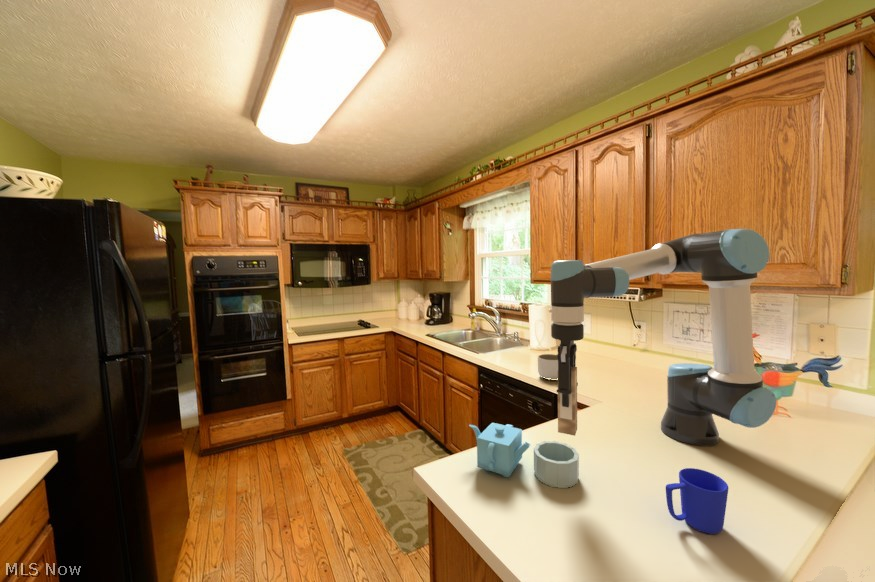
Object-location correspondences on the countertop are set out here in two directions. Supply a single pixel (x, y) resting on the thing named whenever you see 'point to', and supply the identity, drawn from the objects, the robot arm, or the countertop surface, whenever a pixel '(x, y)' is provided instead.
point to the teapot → (499, 448)
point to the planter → (548, 366)
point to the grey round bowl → (556, 464)
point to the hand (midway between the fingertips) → (567, 414)
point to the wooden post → (571, 425)
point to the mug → (700, 499)
